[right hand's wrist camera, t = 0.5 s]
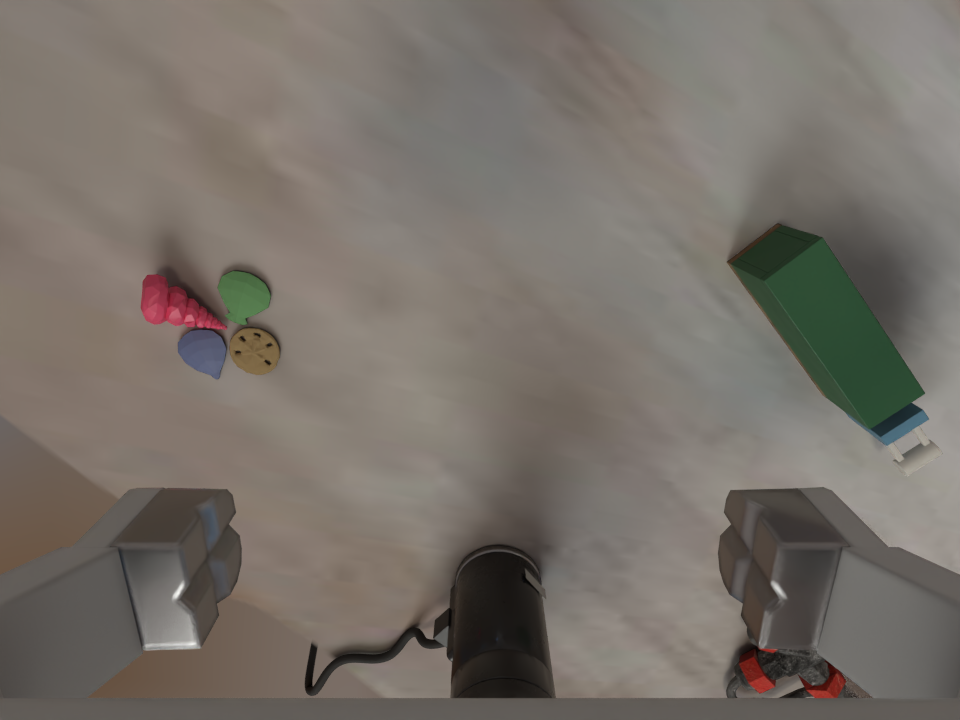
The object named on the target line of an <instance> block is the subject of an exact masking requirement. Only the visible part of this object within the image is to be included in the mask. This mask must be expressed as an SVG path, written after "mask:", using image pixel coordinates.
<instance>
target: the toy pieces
mask: <svg viewBox="0 0 960 720" xmlns="http://www.w3.org/2000/svg"><path fill="white" fill-rule="evenodd" d="M218 290H219V292H220V294H221V297H222V299H223V301H224V303H225V305H226V307H227V308H228V310H229V312H230V313H228V314H227V315H225V316H226V317H227V318H228V319H229V320H231V321H233V322H235V323H238V324H241V325H246V324H247V321H246V318H248V317H250V316H253V315H255V314H257V313H259V312H261V311H263V310H265V309H266V308H268V306H269V302H270V297H271V294H270V292H269V290H268V288H267V286H266V284H265V283H264V282H262V281H261V280H260V279H259V278H257V277H255V276H254V275H252V274H250V273H246V272H240V271H232V272H230V273H228V274H226V275H224V276H222V278H221V280H220V283H219V285H218ZM141 310H142V312H143V315H144V317H145V319H146V321H148V322H150V323H152V324H161V323H163V322H165V321H168V322H169V323H171V324H173V325H175V326H180V325H182V324H185V325H186V326H187V327H194V326H195V325H197V326H198V327H199V328H203V327H206V328H211V327H212V328H217V329H218V330H219V329H225V330H226V329H227V326H225V325H224V324H222V323H221V322H220V321H218V319H217V318H215V317H213V314H211V313H208V312H207V309H206V308H204V307H202V306H200V307H199V304H198V303H197V302H196V300H195V299H192V298H188V297H187V295H186V292H185V290H183V289H181V288H179V287H177V286H174V287H170V288H168V282H167V280H166V278H165V277H163V276H160V275H157V274H156V275H147V276H146V278H145V279H144V280H143V289H142V300H141ZM254 333H259V334H261V336H260V337H259V336H257V335H254ZM242 335H243V337H244V338H245V339H246V340H245V341H244V340H242V339H241V338H240V337H241V336H242ZM270 342H271V343H272V345H271V346H269V347H268V346H267V344H268V343H270ZM229 349H230V355H231V357H232V360H233V362H234V363H235V364H236V365H237V366H238V367H239V368H241V369H243V370H244V371H246V372H247V373H253V374H256V375H262V374H266V373H268V372H270V371H271V370H273V369H274V368H275V367H276V365H277V361H278V359H279V358H280V351H279V347H278V344H277V342H276V341H275V339H274V338H273V337H272V336H271V335H270V334H269V333H267V332H265V331H263V330H261V329H258V328H244V329H241V330H240V331H238V332H237V333H236V334H235V335H234V336H233V337H232V338H231V341H230V348H229ZM237 350H238V351H241V353H236V351H237ZM178 353H179V354H180V356H181V357H182V359H183V360H184V361H185V363H186V364H188V365H189V366H191V367H193V368H194V369H196V370H197V371H200V372H203V373H206V374H209V375H211V376H212V377H213V378H215V379H219V377H220V370H221V368H222V365H223V363H224V359H225V354H226V347H225V345H224V342H223V340H222V338H221V337H220V336H219V335H218V334H216V333H215V332H213V331H211V330H194V331H190V332H189V333H187V334H186V335H184V336H183V337H182V339H181V340H180V341H179V342H178ZM265 360H268V361H270V362H271V364H270V365H269V364H267V363H266V362H265Z"/></svg>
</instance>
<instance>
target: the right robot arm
mask: <svg viewBox="0 0 960 720" xmlns="http://www.w3.org/2000/svg"><path fill="white" fill-rule="evenodd" d="M235 513H236V510H235V505H234V500H233V495H232V494H231V493H230V492H229V491H228V490H227V489H194V488H135V489H130V490H129V491H128V492H127V493H126V494H124V495H123V496H122V497H121V498H120V499H119V500H118V502H117V503H116V504H114V506H113V507H111V508H110V509H109V510H108V511H107V512H106V514H104V515H103V516H102V517H101V518H100V519H99V520H98V521H97V522H96V523H95V524H94V526H92V527H91V528H90V529H89V530H88V531H87V532H86V533H85V534H84V535H83V536H82V537H81V538H80V539H79V540H78V541H77V542H76V543H75V544H74V545H73V546H72V547H61V548H59V549H56V550H54V551H52V552H50V553H47V554H45V555H43V556H41V557H39V558H36V559H34V560H32V561H30V562H27V563H25V564H23V565H21V566H19V567H16V568H14V569H12V570H10V571H8V572H5V573H3V574H1V575H0V720H960V575H959V574H957V573H955V572H952V571H950V570H948V569H946V568H944V567H941V566H939V565H937V564H935V563H932V562H930V561H928V560H926V559H924V558H921V557H919V556H917V555H915V554H913V553H910V552H908V551H906V550H904V549H901V548H899V547H888V546H887V545H886V544H885V543H884V542H883V541H882V540H881V539H880V538H879V537H878V536H877V535H876V534H875V533H874V532H873V531H872V530H871V529H870V528H869V527H868V526H867V525H866V524H865V523H864V522H863V521H862V520H861V519H860V518H859V517H858V516H857V515H856V514H855V513H854V512H853V511H852V510H851V509H850V508H849V507H848V506H847V505H846V504H845V503H844V502H843V501H842V500H841V499H840V498H839V497H838V496H837V495H836V494H835V493H834V492H833V491H832V490H829V489H826V488H824V487H818V488H793V489H756V490H730V492H729V494H728V496H727V499H726V503H725V509H724V513H725V515H726V517H727V518H728V520H729V521H730V523H731V525H730V526H729V527H728V528H727V529H726V530H725V531H724V532H723V533H722V534H721V535H720V542H719V550H718V558H719V568H720V573H721V576H722V579H723V583H724V585H725V587H726V589H727V590H728V592H729V594H730V595H731V596H733V597H734V598H736V599H737V600H739V601H740V602H742V603H743V607H742V612H741V616H742V618H743V620H744V622H745V624H746V625H747V627H748V629H749V631H750V633H751V634H752V636H753V638H754V640H755V642H756V643H757V645H758V647H759V649H789V650H817V653H818V654H819V655H820V656H821V657H823V658H824V659H825V660H827V661H828V662H829V663H830V664H832V665H833V666H834V667H835V668H837V669H838V670H839V671H840V672H842V673H843V674H844V675H845V676H847V677H848V678H849V679H850V680H852V681H853V682H854V683H856V684H857V685H858V686H859V687H861V688H862V689H863V690H864V691H866V692H867V693H868V694H869V695H871V696H872V697H873V698H87V697H88V696H90V695H91V694H92V693H93V692H95V691H96V690H97V689H98V688H100V687H101V686H102V685H103V684H105V683H106V682H107V681H108V680H110V679H111V678H112V677H113V676H115V675H116V674H117V673H119V672H120V671H121V670H122V669H124V668H125V667H126V666H127V665H129V664H130V663H131V662H132V661H134V660H135V659H136V658H137V657H139V656H140V655H141V654H143V651H142V650H169V649H201V647H202V645H203V643H204V642H205V640H206V638H207V636H208V635H209V633H210V631H211V629H212V627H213V625H214V624H215V622H216V620H217V618H218V616H219V613H218V607H217V603H219V602H220V601H221V600H223V599H224V598H226V597H227V596H229V595H230V594H231V592H232V590H233V588H234V586H235V585H236V583H237V580H238V576H239V572H240V567H241V559H242V547H241V541H240V535H239V534H238V533H237V532H236V531H235V530H234V529H233V528H232V527H231V526H230V525H229V523H230V521H231V520H232V518H233V517H234V515H235Z"/></svg>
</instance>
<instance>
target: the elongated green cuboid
mask: <svg viewBox="0 0 960 720" xmlns="http://www.w3.org/2000/svg"><path fill="white" fill-rule="evenodd" d="M727 263H728V265H729V266H730V267H731V269H732V270H733V271H734V273H735V274H736V276H737V277H738V278H739V280H740V281H741V283H742V284H743V285H744V287H745V288H746V289H747V291H748V292H749V294H750V295H751V296H752V298H753V299H754V301H755V302H756V303H757V305H758V306H759V308H760V309H761V310H762V312H763V313H764V314H765V316H766V317H767V319H768V320H769V321H770V323H771V324H772V326H773V327H774V328H775V330H776V331H777V332H778V334H779V335H780V337H781V338H782V339H783V341H784V342H785V344H786V345H787V346H788V348H789V349H790V350H791V352H792V353H793V355H794V356H795V357H796V359H797V360H798V362H799V363H800V364H801V366H802V367H803V368H804V370H805V371H806V373H807V374H808V375H809V377H810V378H811V380H812V381H813V382H814V384H815V385H816V387H817V388H818V389H819V391H820V392H821V393H822V395H823V396H825V397H826V398H828V399H829V400H830V401H832V402H833V403H834V404H836V405H837V406H838V407H839V408H841V409H842V410H843V411H845V412H846V413H847V414H849V415H850V416H851V417H853V418H854V419H855V420H857V421H858V422H859V423H861V424H862V425H863V426H865V427H866V428H867V429H869V430H870V429H871V428H873V427H874V426H876V425H877V424H879V423H881V422H882V421H884V420H885V419H887V418H888V417H890V416H891V415H893V414H894V413H896V412H898V411H899V410H901V409H902V408H904V407H905V406H907V405H908V404H910V403H911V402H913V401H914V400H916V399H918V398H919V397H921V396H922V395H924V394H925V392H924V391H923V389H922V388H921V386H920V385H919V383H918V382H917V380H916V378H915V377H914V375H913V374H912V372H911V371H910V369H909V368H908V366H907V365H906V363H905V362H904V360H903V359H902V357H901V356H900V354H899V353H898V351H897V350H896V348H895V347H894V345H893V344H892V342H891V341H890V339H889V337H888V336H887V334H886V333H885V331H884V330H883V328H882V327H881V325H880V324H879V322H878V321H877V319H876V318H875V316H874V315H873V313H872V312H871V310H870V309H869V307H868V306H867V304H866V303H865V301H864V299H863V298H862V296H861V295H860V293H859V292H858V290H857V289H856V287H855V286H854V284H853V283H852V281H851V280H850V278H849V277H848V275H847V274H846V272H845V271H844V269H843V268H842V266H841V265H840V263H839V262H838V260H837V258H836V257H835V255H834V254H833V252H832V251H831V249H830V248H829V246H828V245H827V243H826V242H825V240H824V239H823V238H822V237H819V236H816V235H813V234H810V233H806V232H803V231H800V230H796V229H793V228H790V227H786V226H783V225H781V224H776V225H775V226H774V227H772V228H771V229H770V230H769V231H767V232H766V233H765V234H763V235H762V236H761V237H759V238H758V239H757V240H755V241H754V242H753V243H751V244H750V245H749V246H747V247H746V248H745V249H744V250H742V251H741V252H740V253H738V254H737V255H736V256H734V257H733V258H732V259H730V260H729V261H728V262H727Z"/></svg>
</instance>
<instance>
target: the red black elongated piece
mask: <svg viewBox="0 0 960 720" xmlns="http://www.w3.org/2000/svg"><path fill="white" fill-rule="evenodd" d="M747 634H748V637H749V639H750V641H751V642H752V643H753V644H754V645H756V646H757V647H758V645H757V643H756V642H755V640H754V638H753V636H752V634H751V633H750V631H749V629H748V627H747ZM758 649H759V647H758ZM759 650H762V651H760V652H758V651H757V650H756V649H753V650H751V651H749V652H747V653H745V654H743V655H741V656H740V660H739V663H738V664H737V665H736V666H735V668H734V670H735V674H736V676H735V677H734V678H733V679H732V680H731V681H730V683H729V684H728V687H727V690H726V692H727V697H728V698H737V697H736V694H735V692H736V690H737V688H738V687H739V686H740V685H742V686H743V687H744V688H745V689H746V690H756V691H757V692H759V693H762V692H765V691H767V690H769V689H771V688H773V687H775V683H776V679H779V678H781V677H784V676H786V675H787V676H793V675H795V674H798V676H799V678H800V679H801V681H802V683H803V685H804V687H803V688H800V689H797V690H795V691H793V692H791V693H789V694H786V695H784V696H782V697H780V698H805V697H811V696H812V697H815V698H853V697H852V696H850V695H849V694H848V693H847V692H846V691H845V683H846V680H845V679H844V677H843V675H842V674H841V672H840V671H839V670H838V669H837V668H835V667H834V666H833V665H832V664H830V663H829V662H828V661H827V660H825V659H824V658H823V657H821V656H820V655H819V654H818V653H817V650H789V649H759Z"/></svg>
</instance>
